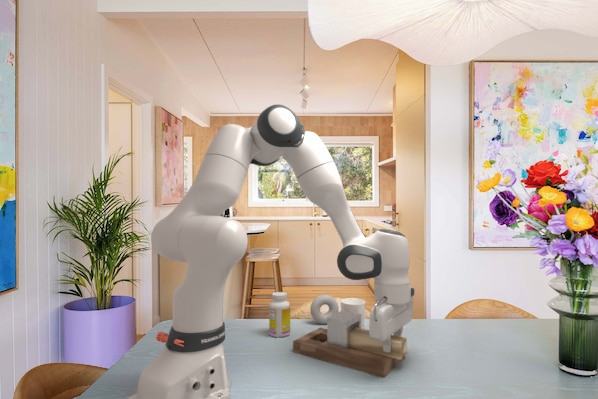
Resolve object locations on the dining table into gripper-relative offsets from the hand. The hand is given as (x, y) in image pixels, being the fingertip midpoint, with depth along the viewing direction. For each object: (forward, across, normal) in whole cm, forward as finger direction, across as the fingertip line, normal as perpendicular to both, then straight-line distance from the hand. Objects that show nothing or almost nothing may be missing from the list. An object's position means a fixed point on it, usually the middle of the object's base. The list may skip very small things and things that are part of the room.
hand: (392, 347), depth 98 cm
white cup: (+5, +17, +20) cm, 27 cm away
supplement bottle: (+5, +2, +38) cm, 39 cm away
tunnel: (+2, 0, +14) cm, 14 cm away
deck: (+5, 0, +13) cm, 14 cm away
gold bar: (+2, 0, +4) cm, 4 cm away
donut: (+5, +19, +32) cm, 38 cm away
